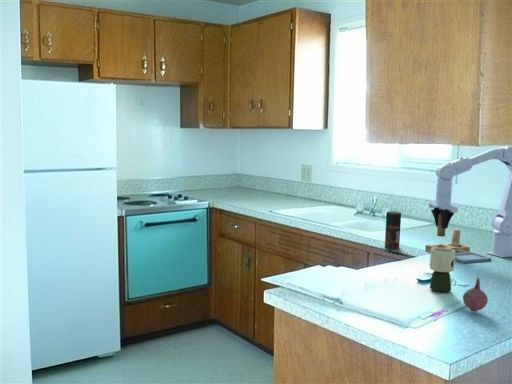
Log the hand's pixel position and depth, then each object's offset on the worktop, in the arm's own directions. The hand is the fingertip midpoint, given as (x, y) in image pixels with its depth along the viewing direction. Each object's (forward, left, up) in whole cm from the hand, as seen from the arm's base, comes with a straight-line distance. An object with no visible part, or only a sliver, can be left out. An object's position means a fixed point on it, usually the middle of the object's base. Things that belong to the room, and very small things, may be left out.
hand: (441, 227), depth 217 cm
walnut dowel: (0, 0, -3) cm, 3 cm away
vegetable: (+42, +61, -11) cm, 75 cm away
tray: (-3, +12, -10) cm, 16 cm away
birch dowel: (-8, 0, -10) cm, 13 cm away
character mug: (+37, +42, -11) cm, 57 cm away
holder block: (-4, 0, -10) cm, 11 cm away
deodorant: (+14, -13, -11) cm, 22 cm away
